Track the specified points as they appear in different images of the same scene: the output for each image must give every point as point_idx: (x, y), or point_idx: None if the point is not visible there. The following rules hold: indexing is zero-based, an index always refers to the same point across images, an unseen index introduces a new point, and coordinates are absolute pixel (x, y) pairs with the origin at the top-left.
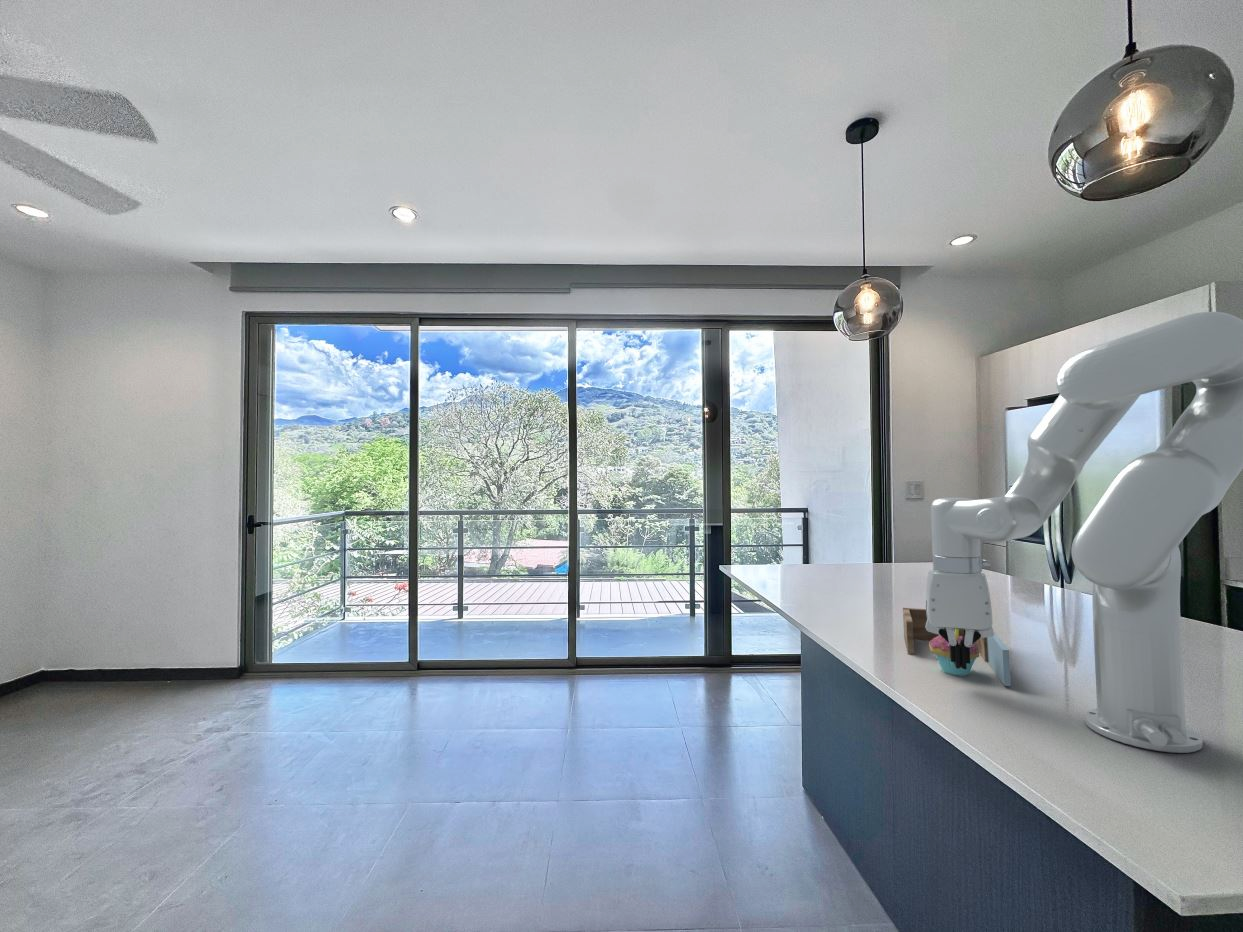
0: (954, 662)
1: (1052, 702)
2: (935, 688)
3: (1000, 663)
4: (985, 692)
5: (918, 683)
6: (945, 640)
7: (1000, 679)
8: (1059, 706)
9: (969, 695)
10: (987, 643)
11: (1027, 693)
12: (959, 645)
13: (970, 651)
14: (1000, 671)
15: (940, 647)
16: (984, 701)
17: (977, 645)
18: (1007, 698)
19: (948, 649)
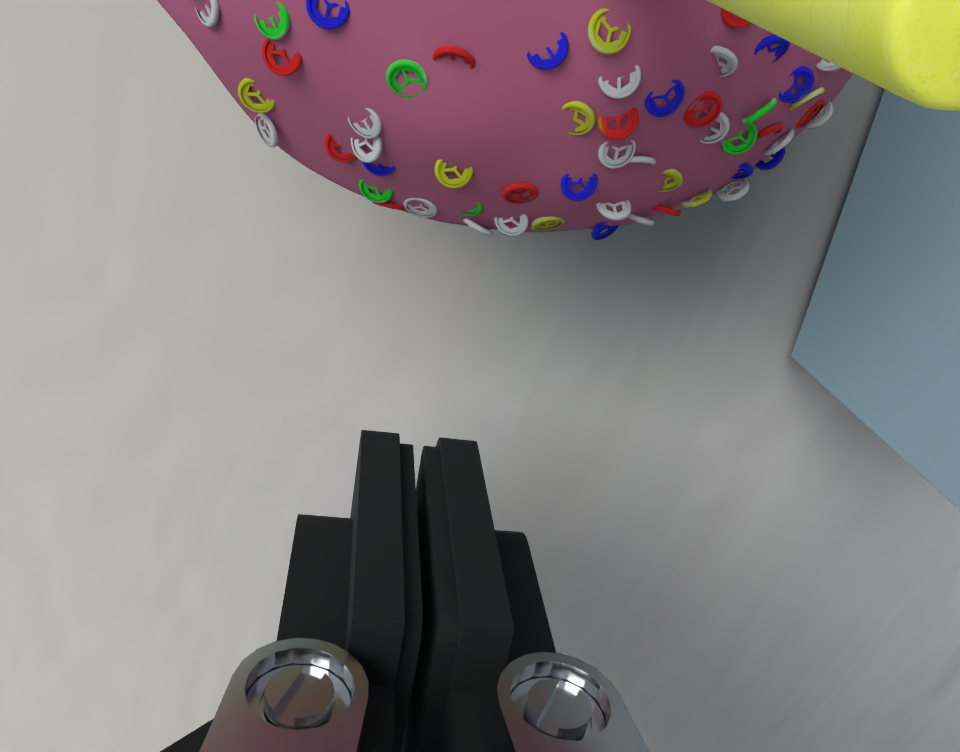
0: (356, 474)
1: (955, 572)
2: (158, 490)
3: (948, 290)
4: (566, 487)
5: (5, 394)
6: (334, 5)
7: (851, 193)
8: (949, 629)
9: None
10: None
11: None
12: (427, 671)
13: (694, 195)
14: (893, 241)
15: (228, 90)
16: None
17: None
18: (679, 572)
19: (352, 186)
